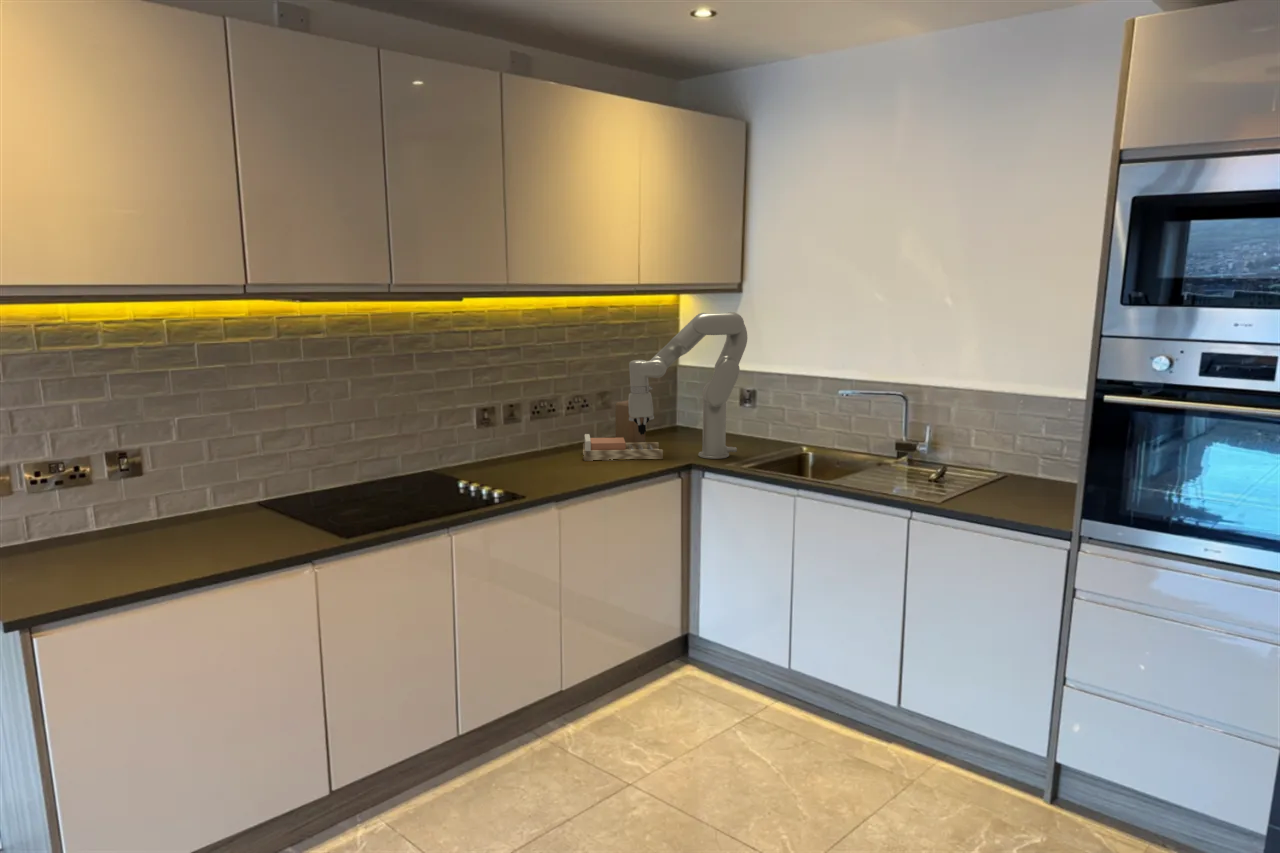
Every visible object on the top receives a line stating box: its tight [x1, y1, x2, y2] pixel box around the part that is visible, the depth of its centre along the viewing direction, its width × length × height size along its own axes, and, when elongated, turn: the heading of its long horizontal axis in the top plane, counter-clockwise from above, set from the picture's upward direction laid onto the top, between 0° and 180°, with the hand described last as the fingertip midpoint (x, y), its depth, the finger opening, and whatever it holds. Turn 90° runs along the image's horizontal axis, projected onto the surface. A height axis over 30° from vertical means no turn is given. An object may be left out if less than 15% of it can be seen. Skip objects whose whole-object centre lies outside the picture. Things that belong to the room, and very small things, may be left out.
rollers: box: [628, 444, 653, 450], centre depth 342 cm, size 26×14×2 cm, turn 95°
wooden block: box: [615, 399, 646, 443], centre depth 360 cm, size 10×10×20 cm
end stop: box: [584, 433, 591, 456], centre depth 340 cm, size 2×16×6 cm, turn 5°
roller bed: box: [582, 441, 664, 462], centre depth 342 cm, size 32×16×4 cm, turn 95°
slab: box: [590, 437, 626, 450], centre depth 341 cm, size 14×12×3 cm
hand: (642, 433), depth 341 cm, fingers closed
